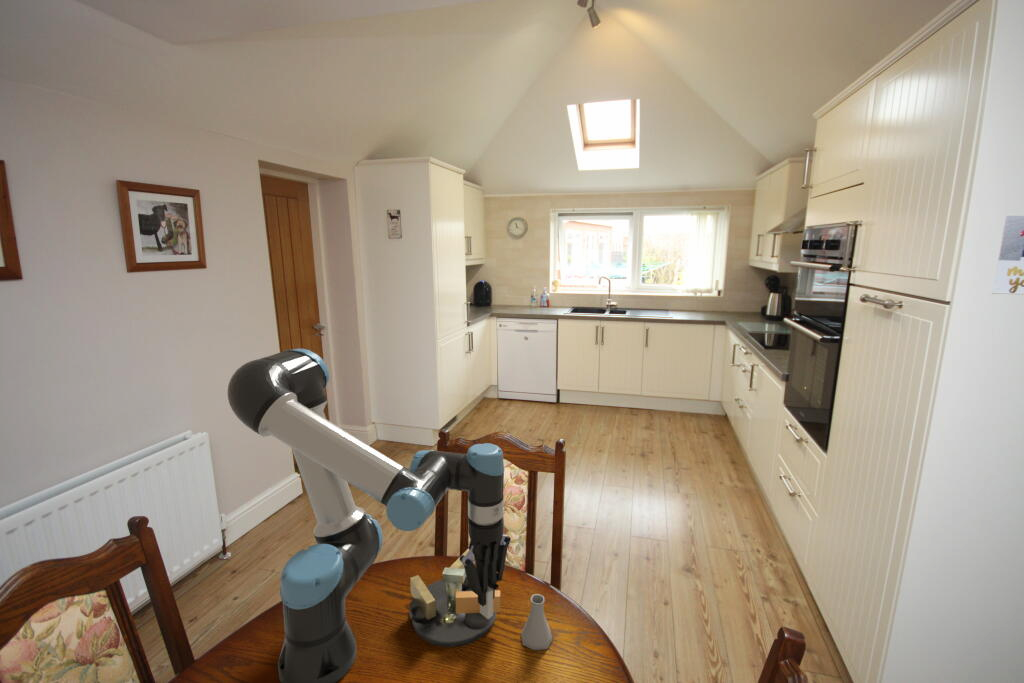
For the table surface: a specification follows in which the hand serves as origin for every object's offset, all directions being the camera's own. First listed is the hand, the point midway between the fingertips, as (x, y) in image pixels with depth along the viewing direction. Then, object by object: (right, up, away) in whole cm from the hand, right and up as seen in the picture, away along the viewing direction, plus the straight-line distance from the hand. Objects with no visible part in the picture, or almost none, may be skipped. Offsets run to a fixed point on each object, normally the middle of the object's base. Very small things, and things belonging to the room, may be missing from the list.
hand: (486, 614), depth 105 cm
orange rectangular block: (-2, -3, +4) cm, 5 cm away
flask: (+11, -6, +1) cm, 13 cm away
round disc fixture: (-8, -4, +10) cm, 13 cm away
